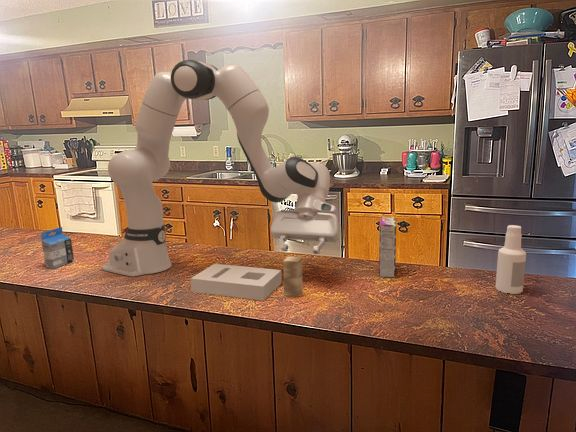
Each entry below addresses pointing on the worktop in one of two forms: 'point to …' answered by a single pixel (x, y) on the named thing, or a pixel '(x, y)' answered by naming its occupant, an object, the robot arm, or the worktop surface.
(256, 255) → the worktop surface
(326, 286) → the worktop surface
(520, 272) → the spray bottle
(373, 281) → the worktop surface
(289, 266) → the square peg
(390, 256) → the candy bar box
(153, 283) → the worktop surface
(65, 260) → the label tape box
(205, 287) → the socket board
